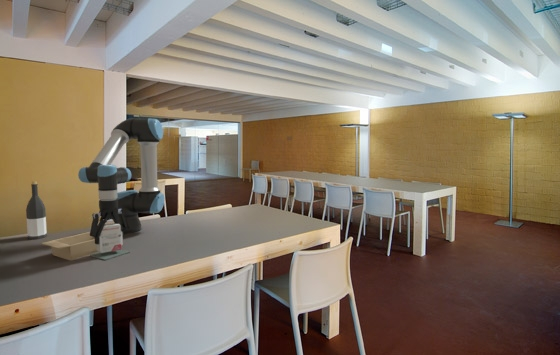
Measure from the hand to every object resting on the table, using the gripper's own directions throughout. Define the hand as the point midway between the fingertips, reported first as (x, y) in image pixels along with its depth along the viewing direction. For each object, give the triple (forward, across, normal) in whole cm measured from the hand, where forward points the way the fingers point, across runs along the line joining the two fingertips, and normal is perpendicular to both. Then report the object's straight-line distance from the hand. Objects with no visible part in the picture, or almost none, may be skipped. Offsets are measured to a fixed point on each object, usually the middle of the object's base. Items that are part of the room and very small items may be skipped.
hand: (110, 247), depth 146 cm
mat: (+3, 0, 0) cm, 3 cm away
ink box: (+1, 0, 0) cm, 1 cm away
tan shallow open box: (+3, +3, -14) cm, 15 cm away
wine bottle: (+3, +3, -57) cm, 57 cm away
